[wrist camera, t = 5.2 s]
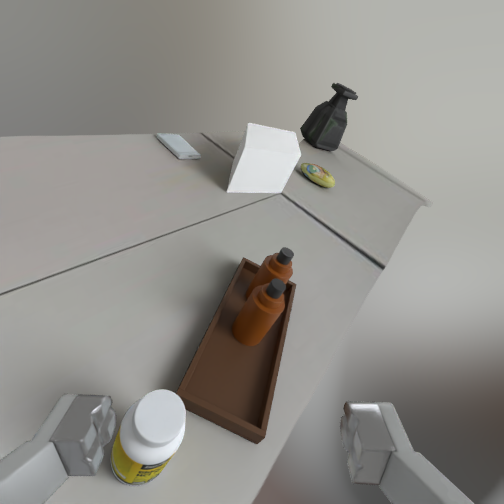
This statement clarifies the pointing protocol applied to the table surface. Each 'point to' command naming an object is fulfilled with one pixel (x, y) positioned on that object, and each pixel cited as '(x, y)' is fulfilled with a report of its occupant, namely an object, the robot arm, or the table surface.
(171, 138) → the hard drive
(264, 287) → the amber bottle middle
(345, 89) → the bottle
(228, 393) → the tray
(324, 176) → the cell model
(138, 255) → the table surface
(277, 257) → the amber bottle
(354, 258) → the table surface
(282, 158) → the box
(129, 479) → the pill bottle
